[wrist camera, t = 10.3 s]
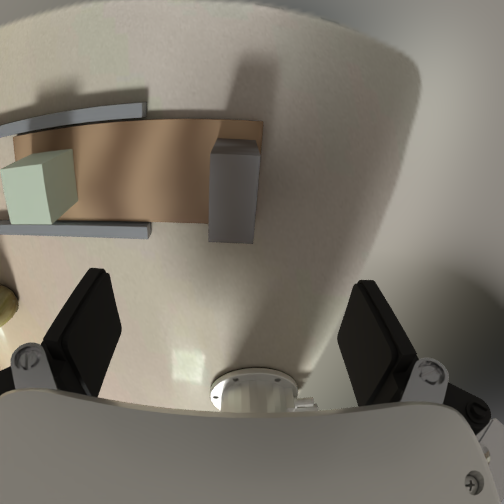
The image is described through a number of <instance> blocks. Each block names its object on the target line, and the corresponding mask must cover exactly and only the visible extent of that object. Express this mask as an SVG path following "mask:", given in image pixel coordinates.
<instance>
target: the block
mask: <svg viewBox="0 0 504 504" xmlns="http://www.w3.org/2000/svg"><path fill="white" fill-rule="evenodd" d="M0 172H1V178H2V184H3V189H4V195H5V200H6V204H7V209H8V213H9V218H10V222H11V224H53V223H54V222H55V221H56V220H57V219H58V218H59V217H61V216H62V215H63V214H64V213H65V212H66V211H67V210H68V209H70V208H71V207H72V206H73V205H74V204H75V203H76V202H78V196H77V188H76V180H75V172H74V162H73V150H72V149H66V150H57V151H49V152H41V153H34V154H30V155H28V156H26V157H24V158H22V159H20V160H18V161H16V162H14V163H12V164H10V165H8V166H6V167H4V168H2V169H1V170H0Z"/></svg>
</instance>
